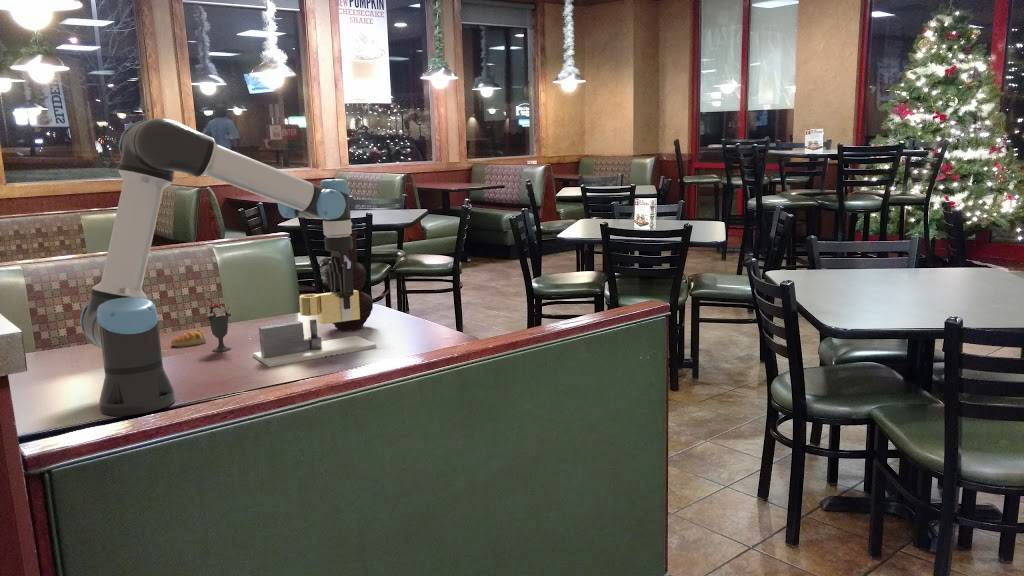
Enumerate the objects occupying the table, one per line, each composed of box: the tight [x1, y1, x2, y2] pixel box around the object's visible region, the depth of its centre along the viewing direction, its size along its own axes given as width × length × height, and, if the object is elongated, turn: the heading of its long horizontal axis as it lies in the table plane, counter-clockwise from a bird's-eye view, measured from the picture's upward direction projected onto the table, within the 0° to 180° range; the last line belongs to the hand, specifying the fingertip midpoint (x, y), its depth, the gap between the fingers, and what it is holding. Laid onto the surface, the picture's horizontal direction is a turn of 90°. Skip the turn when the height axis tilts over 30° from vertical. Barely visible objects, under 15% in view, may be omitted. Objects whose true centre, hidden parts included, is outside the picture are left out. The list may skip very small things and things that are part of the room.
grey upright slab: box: [258, 318, 322, 358], centre depth 214 cm, size 16×4×8 cm, turn 124°
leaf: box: [298, 290, 360, 325], centre depth 219 cm, size 16×5×8 cm, turn 124°
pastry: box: [170, 329, 207, 348], centre depth 233 cm, size 9×7×4 cm
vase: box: [324, 230, 374, 332], centre depth 244 cm, size 15×15×30 cm
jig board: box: [252, 335, 377, 368], centre depth 218 cm, size 30×14×1 cm, turn 124°
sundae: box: [205, 298, 232, 353], centre depth 223 cm, size 7×7×15 cm
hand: (344, 318), depth 221 cm, fingers closed on leaf, 3 cm apart
